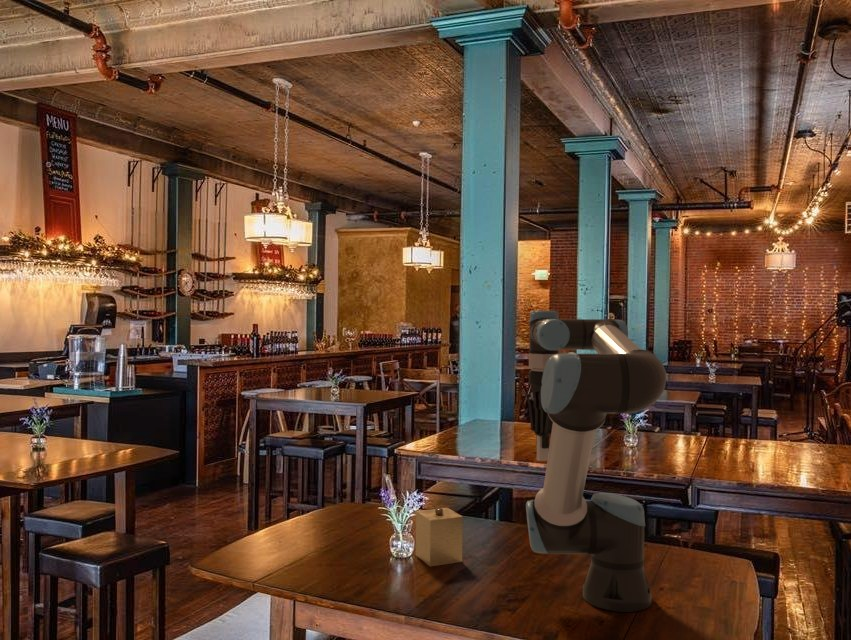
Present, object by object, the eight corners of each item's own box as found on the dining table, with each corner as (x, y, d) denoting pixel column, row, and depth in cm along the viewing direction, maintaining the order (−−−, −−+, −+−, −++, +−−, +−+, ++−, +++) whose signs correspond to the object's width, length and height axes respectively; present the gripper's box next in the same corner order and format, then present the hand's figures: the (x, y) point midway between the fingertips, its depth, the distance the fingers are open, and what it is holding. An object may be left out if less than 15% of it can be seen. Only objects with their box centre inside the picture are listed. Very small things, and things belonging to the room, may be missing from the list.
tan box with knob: (462, 561, 192) (462, 511, 191) (430, 566, 188) (430, 515, 188) (446, 550, 200) (447, 503, 200) (415, 555, 196) (416, 506, 196)
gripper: (570, 371, 187) (569, 464, 188) (541, 367, 199) (540, 454, 200) (545, 372, 184) (544, 466, 185) (517, 368, 196) (516, 456, 197)
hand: (542, 460), depth 192 cm, fingers closed
